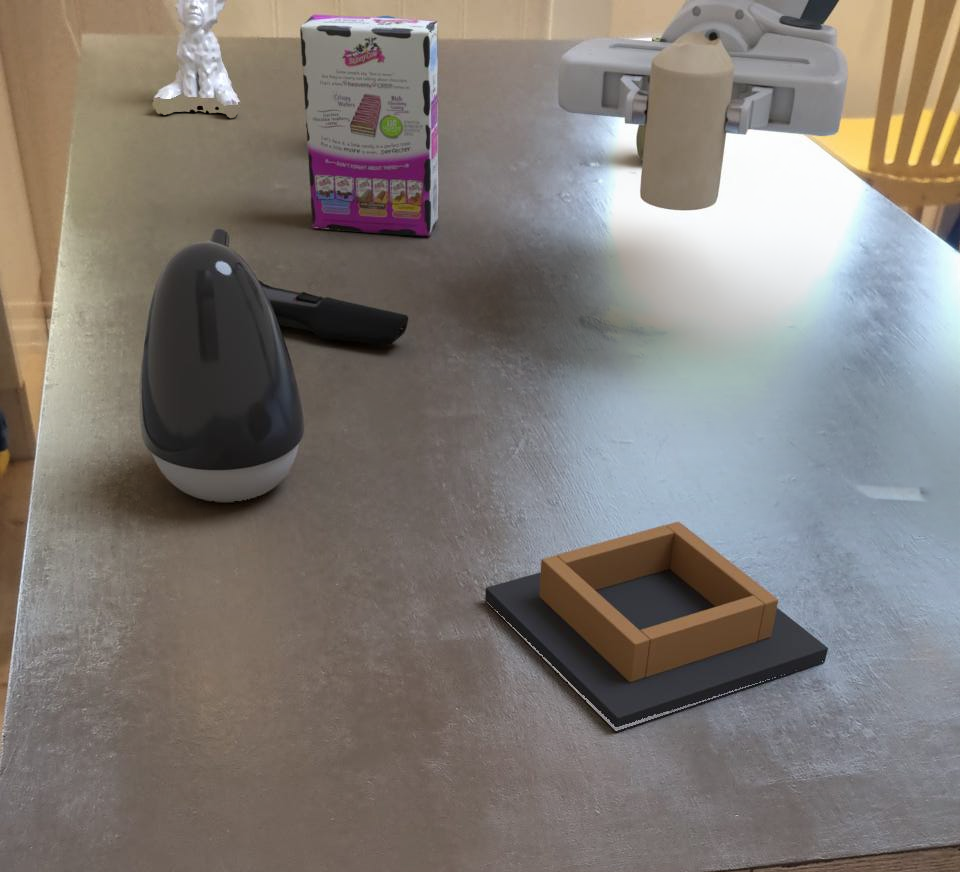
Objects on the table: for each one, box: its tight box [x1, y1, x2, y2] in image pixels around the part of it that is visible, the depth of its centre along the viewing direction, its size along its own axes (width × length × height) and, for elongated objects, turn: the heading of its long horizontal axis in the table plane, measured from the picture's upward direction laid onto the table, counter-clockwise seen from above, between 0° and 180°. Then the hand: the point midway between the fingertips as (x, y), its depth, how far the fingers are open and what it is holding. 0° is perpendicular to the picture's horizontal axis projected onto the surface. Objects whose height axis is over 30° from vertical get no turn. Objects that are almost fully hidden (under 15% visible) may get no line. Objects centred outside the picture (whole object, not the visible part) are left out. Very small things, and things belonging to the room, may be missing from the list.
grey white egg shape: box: [139, 228, 305, 503], centre depth 85 cm, size 10×10×15 cm
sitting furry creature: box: [153, 0, 241, 106], centre depth 148 cm, size 10×9×12 cm
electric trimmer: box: [258, 279, 409, 345], centre depth 107 cm, size 4×16×3 cm, turn 66°
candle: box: [639, 32, 735, 211], centre depth 93 cm, size 6×6×10 cm
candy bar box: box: [299, 14, 440, 237], centre depth 120 cm, size 11×5×16 cm, turn 82°
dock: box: [484, 521, 829, 733], centre depth 77 cm, size 14×14×4 cm
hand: (686, 116), depth 92 cm, fingers closed on candle, 5 cm apart
